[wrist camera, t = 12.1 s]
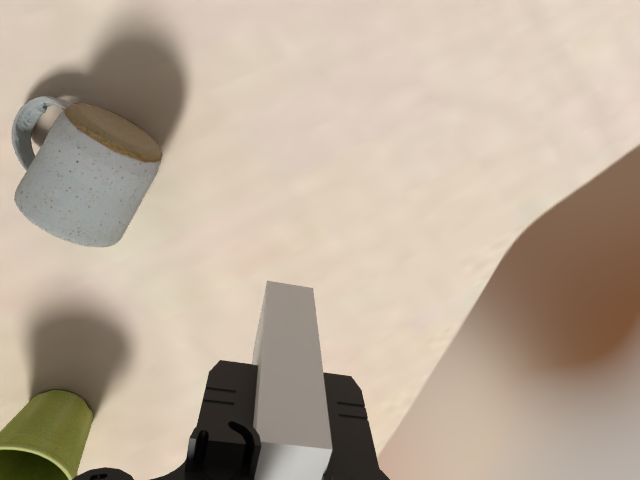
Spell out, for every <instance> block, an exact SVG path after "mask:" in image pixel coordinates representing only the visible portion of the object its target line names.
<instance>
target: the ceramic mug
mask: <svg viewBox="0 0 640 480" xmlns="http://www.w3.org/2000/svg"><path fill="white" fill-rule="evenodd" d="M50 105H57V106H59V107H61V108H62V109H63V110H64V111H63V112H62V114H61V115H60V116H59V117H58V118H57V120H56V121H55V122H54V124H53V126H52V127H51V129H50V131H49V133H48V135H47V137H46V139H45V141H44V143H43V145H42V147H41V148H40V150H39V152H38V153H37V155H36V156H35V154H34V152H33V149H32V143H31V135H32V130H33V127H34V126H35V124H36V122H37V121H38V119H39V118H40V116H41V115H42V114H43V113H45V111H46V109H47V107H48V106H50ZM12 142H13V147H14V150H15V153H16V155H17V157H18V159H19V161H20V163H21V164H22V166H23V167H24V168H25V170H26V171H27V172H26V174H25V175H24V177H23V178H22V180H21V182H20V183H19V185H18V187H17V189H16V192H15V199H14V200H15V202H16V205H17V207H18V208H19V210H20V211H21V212H22V213H23V215H24V216H26V217H27V218H28V219H29V220H30V221H31V222H32V223H33V224H35V225H36V226H38V227H39V228H41V229H42V230H44V231H46V232H48V233H49V234H51V235H53V236H56V237H58V238H61V239H63V240H66V241H68V242H71V243H74V244H77V245H81V246H87V247H108V246H112V245H114V244H116V243H117V242H118V241H119V240H120V239H121V238H122V236H123V234H124V233H125V231H126V229H127V227H128V225H129V223H130V222H131V220H132V218H133V216H134V214H135V213H136V211H137V209H138V207H139V205H140V203H141V201H142V199H143V197H144V196H145V194H146V192H147V190H148V189H149V187H150V185H151V183H152V181H153V180H154V178H155V176H156V174H157V171H158V169H159V166H160V163H161V159H162V153H161V150H160V148H159V146H158V144H157V143H156V141H155V140H154V139H153V138H152V137H151V136H150V135H149V134H147V133H146V132H145V131H143V130H142V129H140V128H139V127H138V126H136V125H135V124H133V123H131V122H130V121H128V120H126V119H125V118H123V117H121V116H119V115H117V114H115V113H113V112H111V111H108V110H106V109H103V108H101V107H98V106H95V105H91V104H86V103H77V104H73V103H70V102H68V101H66V100H63V99H59V98H55V97H50V96H40V97H35V98H33V99H31V100H29V101H28V102H27V103H25V105H24V106H23V107H22V108H21V109H20V110H19V112H18V114H17V115H16V118H15V120H14V123H13V127H12Z"/></svg>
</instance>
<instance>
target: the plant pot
mask: <svg viewBox="0 0 640 480" xmlns="http://www.w3.org/2000/svg"><path fill="white" fill-rule="evenodd" d="M92 421H93V413H92V411H91V410H90V409H89V408H88V406H87V405H86V403H85V401H84V399H82V398H81V397H79V396H78V395H76V394H74V393H71V392H68V391H63V390H51V391H48V392H45V393H42V394H39V395H36V396H35V397H33V398H32V399H31V400H30V402H29V403H28V404H27V405H26V406H25V407H24V408H23V409H22V410H21V411H20V412H19V413H18V414H17V415H16V416H15V417H14V418H13V419H12V420H11V421H10V422H9V423H8V424H7V425H6V427H5V428H4V429H3V430H2V431H1V432H0V480H72V479H73V478H74V477H76V476H77V471H78V467H79V464H80V460H81V457H82V454H83V450H84V447H85V444H86V440H87V438H88V434H89V431H90V428H91V424H92Z"/></svg>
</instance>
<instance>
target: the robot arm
mask: <svg viewBox="0 0 640 480" xmlns="http://www.w3.org/2000/svg"><path fill="white" fill-rule="evenodd" d="M367 418H368V417H367V413H366V408H365V404H364V399H363V395H362V391H361V389H360V388H359V386H358V385H357V384H356V382H355V381H354V379H353V378H352V377H351V376H345V375H338V374H330V373H323V367H322V359H321V351H320V342H319V334H318V326H317V318H316V309H315V301H314V293H313V288H309V287H302V286H296V285H290V284H284V283H277V282H271V281H267V284H266V289H265V294H264V299H263V304H262V309H261V314H260V320H259V325H258V330H257V335H256V340H255V345H254V350H253V359H252V364H245V363H238V362H230V361H222V360H220V361H219V362H218V363H217V364H216V365H215V366H214V367H213V369H212V370H211V371H210V372H209V375H208V380H207V384H206V389H205V393H204V397H203V402H202V406H201V410H200V414H199V419H198V423H197V427H196V428H195V429H194V431H193V433H192V434H191V436H190V438H189V445H188V452H187V459H186V460H185V462H184V463H183V464H182V465H181V466H180V467H178V468H177V469H176V470H175V471H173V472H171V473H169V474H167V475H165V476H162V477H159V478H155V479H151V480H390V479H389V478H388V477H387V476H386V475H385V474H384V473H383V472H382V471H381V470H380V469H379V466H378V461H377V457H376V452H375V448H374V444H373V439H372V435H371V430H370V426H369V421H368V420H367ZM72 480H134V479H133V478H132V476H131V475H129V474H127V473H125V472H124V471H122V470H120V469H113V468H106V467H105V468H99V469H93V470H89V471H87V472H85V473H83V474H80V475H78V476H76V477H74V478H73V479H72Z"/></svg>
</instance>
